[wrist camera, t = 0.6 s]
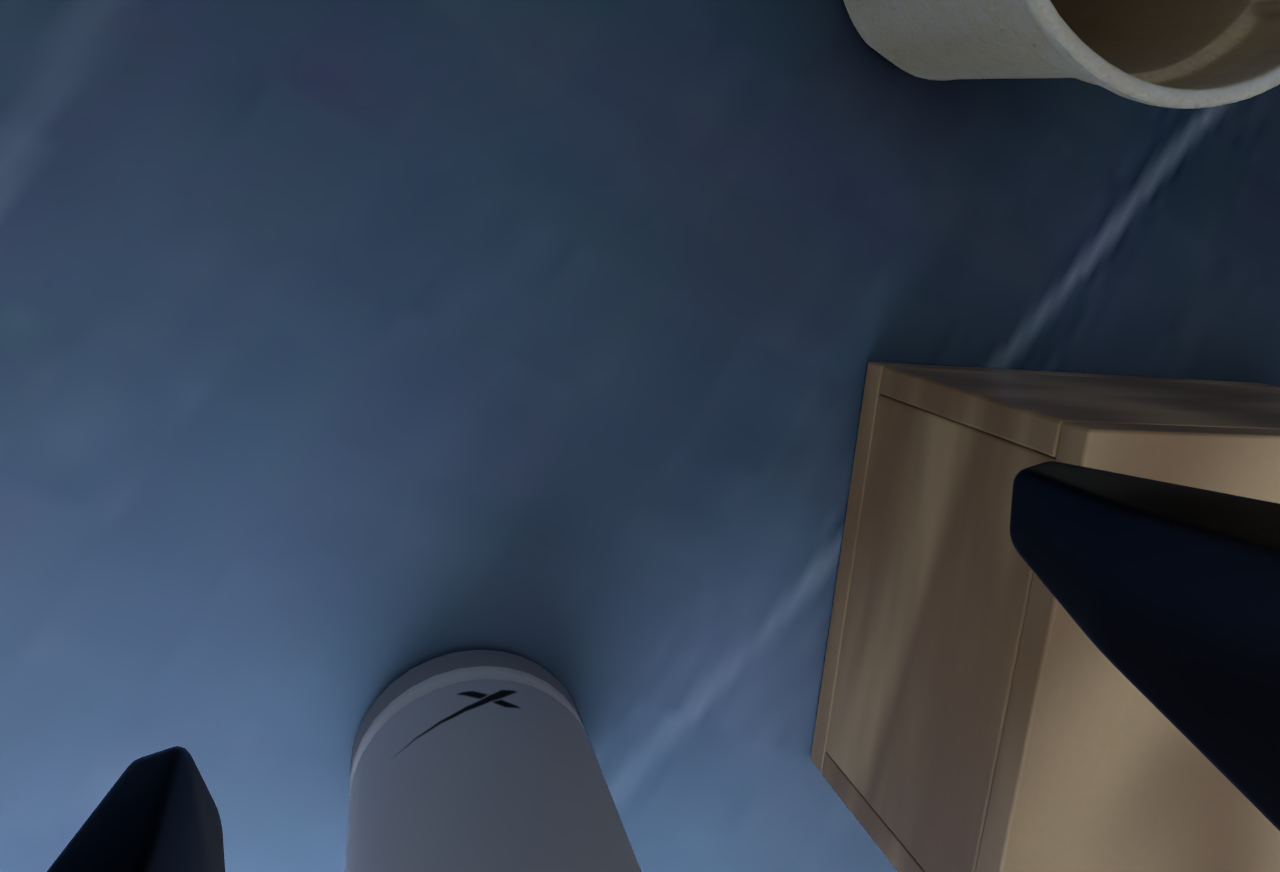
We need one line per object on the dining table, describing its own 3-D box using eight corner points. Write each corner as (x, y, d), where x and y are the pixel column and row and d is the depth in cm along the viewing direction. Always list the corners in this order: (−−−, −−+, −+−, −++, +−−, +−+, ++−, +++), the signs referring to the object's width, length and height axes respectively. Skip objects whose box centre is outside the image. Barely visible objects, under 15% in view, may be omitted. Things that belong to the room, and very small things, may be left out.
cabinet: (1262, 382, 30) (1589, 446, 22) (1178, 729, 32) (1441, 900, 24) (867, 360, 26) (1090, 429, 18) (809, 759, 28) (979, 977, 20)
